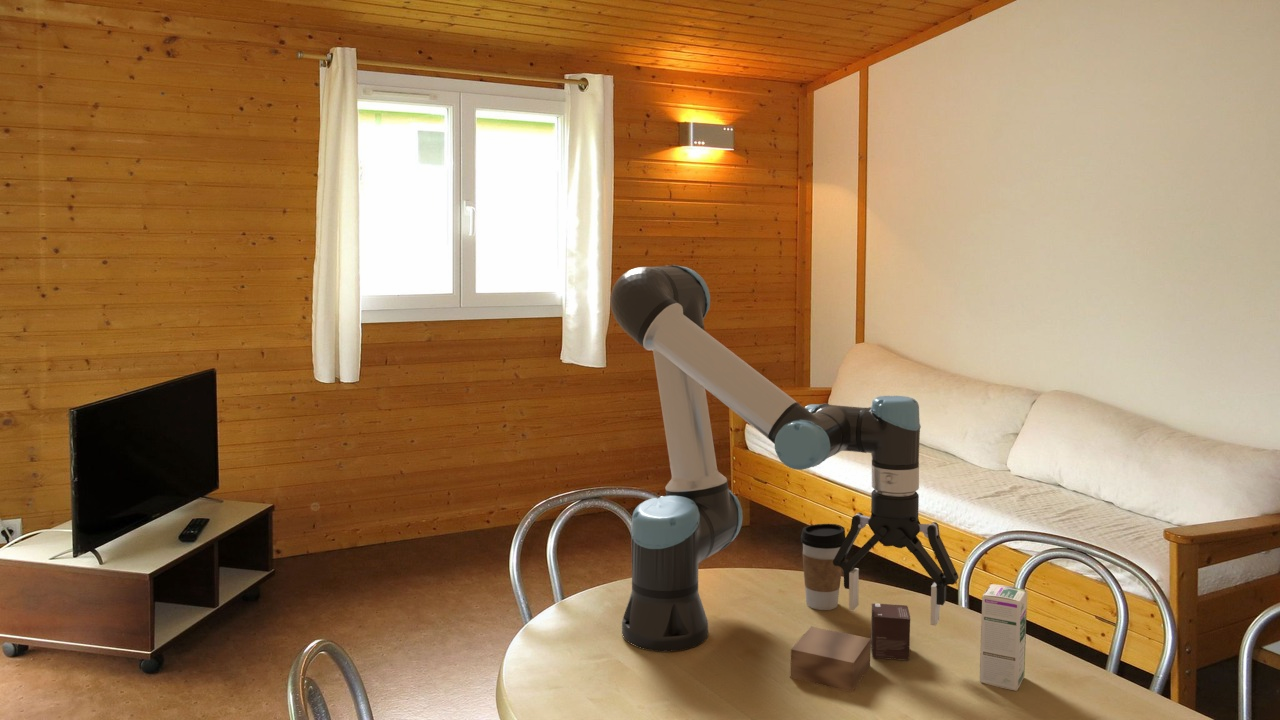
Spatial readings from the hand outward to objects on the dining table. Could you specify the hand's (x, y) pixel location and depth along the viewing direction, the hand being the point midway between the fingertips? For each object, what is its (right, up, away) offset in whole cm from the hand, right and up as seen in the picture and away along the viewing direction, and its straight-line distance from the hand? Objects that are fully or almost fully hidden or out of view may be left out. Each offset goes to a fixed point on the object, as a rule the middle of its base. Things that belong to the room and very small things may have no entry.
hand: (893, 615), depth 155 cm
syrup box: (+15, -8, -9) cm, 19 cm away
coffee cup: (-8, -4, +22) cm, 23 cm away
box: (0, -7, +1) cm, 7 cm away
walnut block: (-12, -8, -6) cm, 15 cm away
